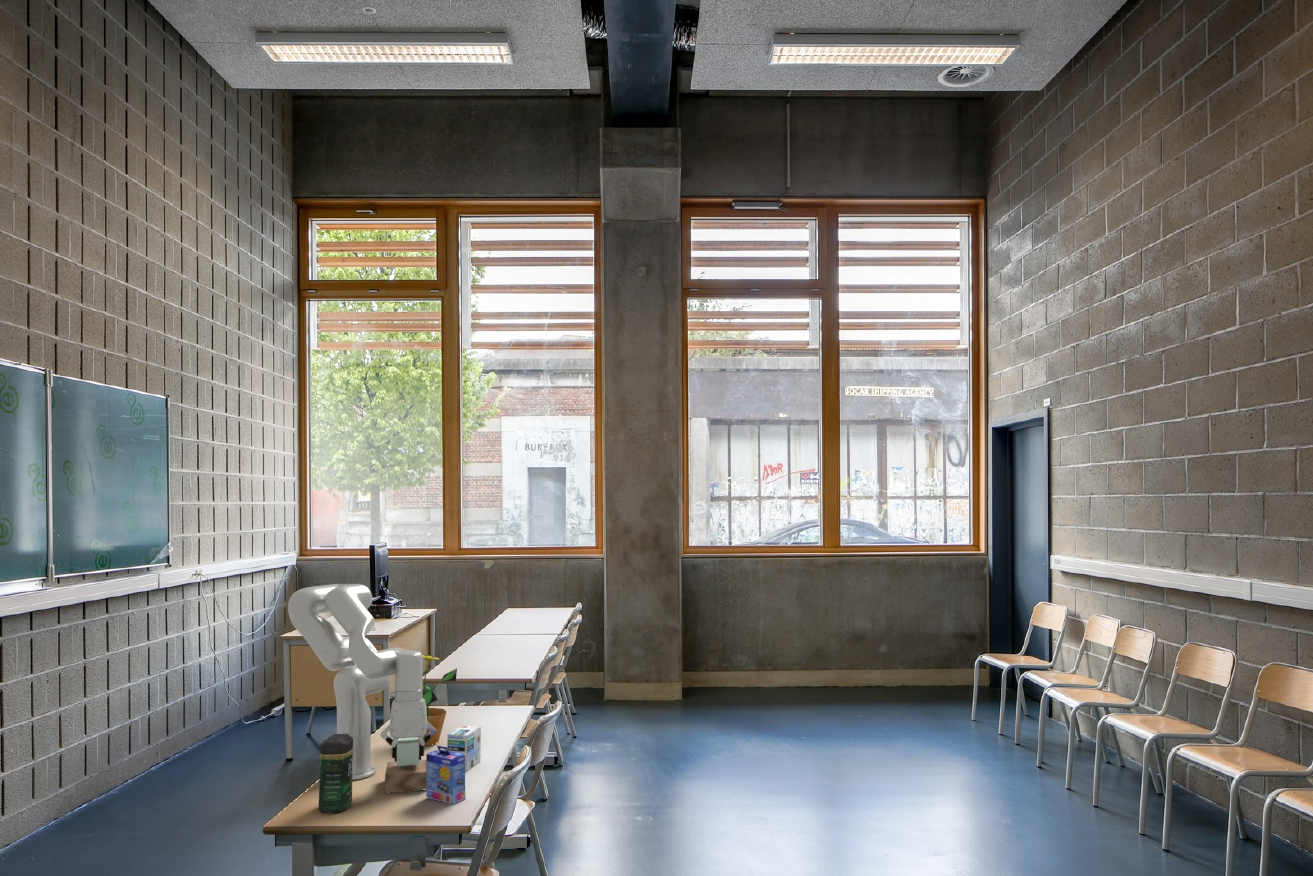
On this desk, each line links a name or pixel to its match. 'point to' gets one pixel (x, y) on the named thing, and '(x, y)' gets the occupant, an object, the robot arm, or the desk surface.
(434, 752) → the ink cartridge box
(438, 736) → the potted plant
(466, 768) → the light bulb box
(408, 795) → the desk surface
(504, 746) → the desk surface
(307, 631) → the robot arm
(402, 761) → the sage block
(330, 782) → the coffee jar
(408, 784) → the walnut block
